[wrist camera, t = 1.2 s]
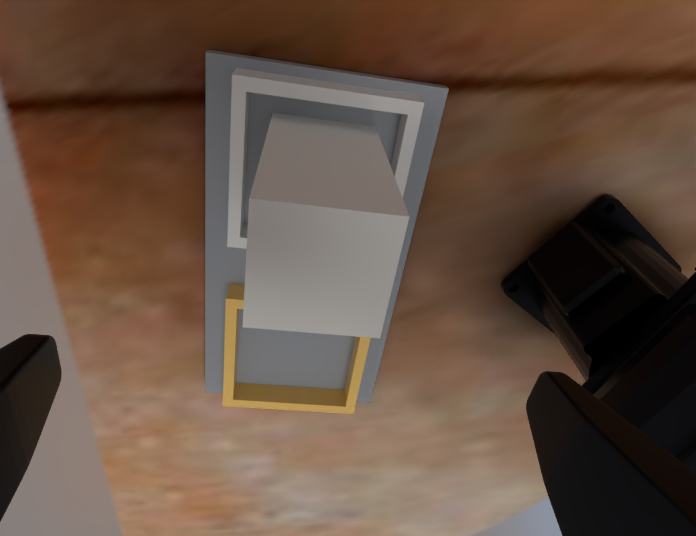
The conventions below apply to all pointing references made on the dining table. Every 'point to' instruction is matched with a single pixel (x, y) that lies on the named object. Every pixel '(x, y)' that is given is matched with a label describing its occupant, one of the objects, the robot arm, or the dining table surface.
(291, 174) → the plug
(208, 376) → the socket panel
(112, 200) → the dining table surface
